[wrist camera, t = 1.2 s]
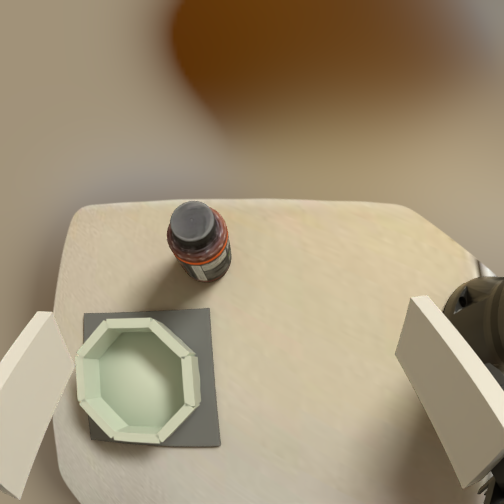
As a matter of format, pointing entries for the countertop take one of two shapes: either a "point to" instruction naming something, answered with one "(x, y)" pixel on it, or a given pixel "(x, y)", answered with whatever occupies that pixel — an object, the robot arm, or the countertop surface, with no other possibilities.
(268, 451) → the countertop surface
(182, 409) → the bowl
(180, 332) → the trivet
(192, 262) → the supplement bottle
